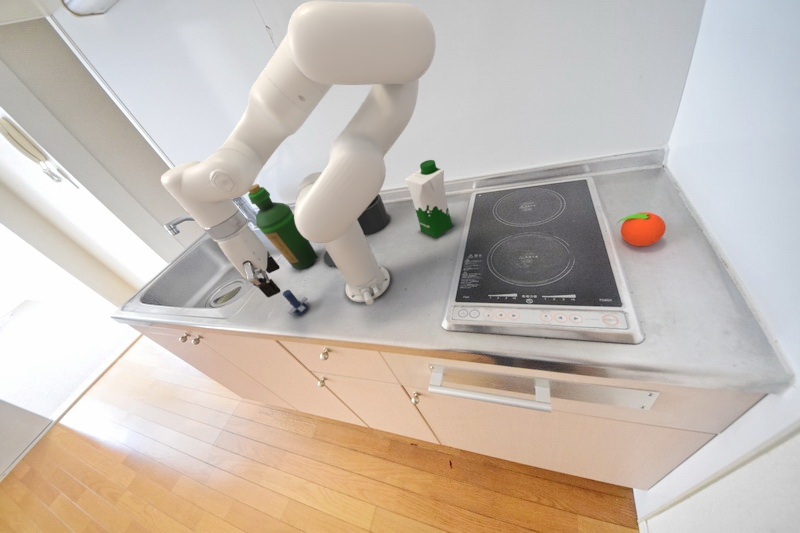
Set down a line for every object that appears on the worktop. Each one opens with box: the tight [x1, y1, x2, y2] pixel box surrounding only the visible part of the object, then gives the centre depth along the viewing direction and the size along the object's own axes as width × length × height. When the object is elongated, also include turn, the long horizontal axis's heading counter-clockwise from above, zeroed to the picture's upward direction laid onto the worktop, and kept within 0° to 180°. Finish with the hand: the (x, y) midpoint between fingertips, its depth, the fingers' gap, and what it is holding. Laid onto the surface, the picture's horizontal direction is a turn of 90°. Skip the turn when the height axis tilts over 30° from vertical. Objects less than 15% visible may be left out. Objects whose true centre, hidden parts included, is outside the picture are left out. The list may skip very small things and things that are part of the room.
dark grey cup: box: [357, 193, 390, 236], centre depth 92 cm, size 12×12×9 cm
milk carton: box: [404, 159, 453, 239], centre depth 76 cm, size 9×9×20 cm
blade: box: [282, 289, 309, 316], centre depth 71 cm, size 6×6×8 cm
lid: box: [323, 250, 337, 267], centre depth 85 cm, size 13×13×6 cm
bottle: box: [247, 183, 318, 271], centre depth 81 cm, size 11×11×28 cm
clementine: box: [617, 212, 667, 247], centre depth 56 cm, size 8×7×7 cm
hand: (274, 281), depth 65 cm, fingers open, 9 cm apart
